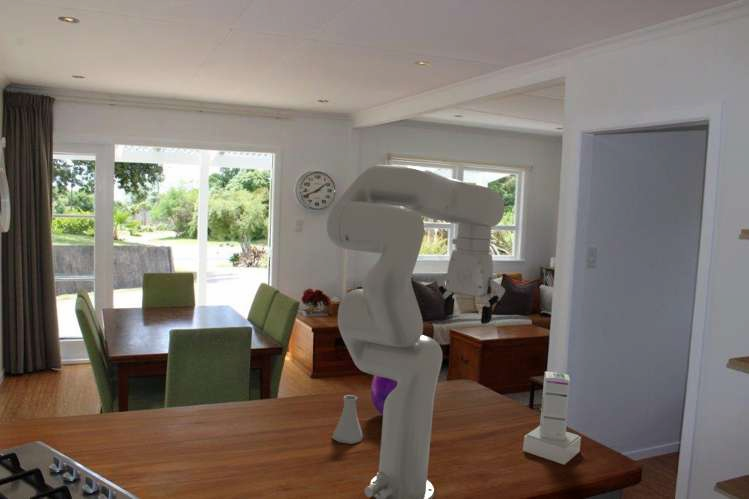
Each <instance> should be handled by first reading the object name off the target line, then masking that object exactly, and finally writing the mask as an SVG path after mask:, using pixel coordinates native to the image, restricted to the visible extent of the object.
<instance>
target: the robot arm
mask: <svg viewBox="0 0 749 499" xmlns="http://www.w3.org/2000/svg"><path fill="white" fill-rule="evenodd" d="M504 215H505V201H504V198H503V196H502V195H501V194H500V193H499V192H498V191H497V190H494V188H493V189H492V188H490V187H488V186H487V187H486V186H482V185H478V184H473V183H470V182H466V181H463V180H462V181H461V180H459V179H454V178H448V177H446V176H444V175H440V174H438V173H435V172H433V171H431V170H428V169H427V168H423V167H420V166H413V165H398V164H397V165H395V164H374V165H372V166H370V167H368V168H366V169H365V170H364V171H363V172H362V173H360V174H359V175H358V176H357V178H355V179H354V181H353V182H352V183H351V184H350V185H349V187H348V188H346V190H345V191H344V192H343V193H342V194H341V196H340V197H339V198H338V199H337V200H336V202H335V203H334V204H333V207H332V208H331V209H330V212H329V214H328V217H327V221H326V230H327V231H326V232H327V236H328V239H329V240H330V241H331V242H332V243H333V244H334V245H335V246H337V247H338V248H341V249H345V250H350V251H358V252H368V253H374V254H375V253H376V254H380V257H379V258H378V260H377V262H376V263H375V264H374V265H373V266H372V267H371V268H369V270H368V272H367V273H366V275H365V277H364V279H363V281H362V285H361V286H362V288H356V289H353V290H351V291H349V292H347V293H346V294H345V295H344V296H343V297H342V298H341V301H340V303H339V305H338V310H337V326H338V329H339V330H338V331H339V332H340V335H341V338H342V340H343V342H344V344H345V346H346V348H347V350H348V352H349V355H350V356H351V357H350V358H352V361H353V363H354V364H355V366H356V367H357V369H359V370H360V371H361V372H363V373H365V374H369V375H372V376H375V375H376V376H380V377H384V378H388V379H391V380H394V381H396V382H397V383H398V384H397V386H396V388H395V389H394V390H393V391H392V392H391V393H390V394H389V395H388V396H387V398H386V400H385V403H384V409H383V415H382V425H381V426H382V427H381V439H380V450H379V452H380V453H379V462H378V464H379V465H378V472H377V473H376V476H373V478H372V479H371V480H370V482H369V485H368V486H366V487H365V488H364V493H365V496H366V497H367V498H372V497H373V498H374V499H434V495H435V488H434V486H433V484H432V483H431V482H430V481H429V480H428V471H429V459H430V448H431V447H430V446H431V436H432V426H433V425H432V424H433V413H434V412H433V411H434V402H435V394H436V388H437V383H438V380H439V375H440V372H441V367H442V363H443V351H442V348H441V346H440V344H439V343H438V342H437V341H436V340H435V339H433V338H432V337H430V336H427V335H424V334H423V332H424V322H423V317H422V313H421V309H420V306H419V303H418V300H417V297H416V294H415V290H414V288H413V287H414V286H413V284H412V276H413V273H414V269H415V266H416V263H417V261H418V257H419V255H420V251H421V247H422V244H423V240H424V236H425V222H424V219H423V218H428V219H431V220H434V221H435V220H436V221H442V222H446V223H449V224H457V235H456V238H453V239H452V245H455V248H456V249H452V252H451V255H450V258H449V262H448V267H447V272H446V274H444V275H442V276H439V277H437V278H436V283H437V287H438V290H439V292H440V293H441V295H442V298H443V300H444V303H443V311H444V313H443V316H445V317H448V316H453V315H454V311H455V310H454V308H455V298H454V296H455V295H456V294H457V295H461V296H465V297H466V296H467V297H473V298H480V300H481V301H482V303H483V306H482V307H481V319H480V323H481V324H483V325H485V324H489V323H490V322H491V320H492V318H493V315H492V314H493V307H494V306H495V305H496V304H497V303H498V302H499V301H501V299H502V297H503V296H504V294H505V293H506V289H505V287H503V286H502V285H501V284H499V283H498V282H497V281H495V280H494V264H493V255H492V253H490V247H491V238H492V228H493V227H495V226H498V225H499V223H500V222H501V221H502V219H503V217H504ZM493 290H494V291H495V294H494V295H493V296H492V292H493Z"/></svg>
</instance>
